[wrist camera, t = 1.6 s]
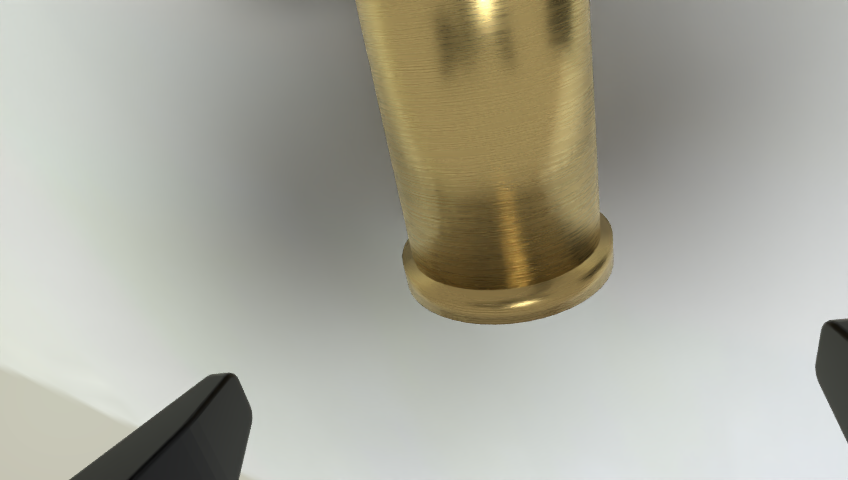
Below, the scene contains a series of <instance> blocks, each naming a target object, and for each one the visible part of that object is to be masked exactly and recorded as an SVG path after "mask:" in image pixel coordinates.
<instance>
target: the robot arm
mask: <svg viewBox="0 0 848 480" xmlns="http://www.w3.org/2000/svg"><path fill="white" fill-rule="evenodd" d="M815 369H816V376H817V379H818V382H819V384H820V386H821V388H822V390H823V393H824V395H825V397H826V399H827V401H828V403H829V405H830V407H831V409H832V411H833V413H834V415H835V418H836V420H837V422H838V424H839V426H840V428H841V430H842V432H843V434H844V436H845V438H846V441H847V443H848V319H836V320H829V321H827V322H825V323H824V325H823V326H822V329H821V334H820V340H819V346H818V352H817V358H816V365H815ZM251 425H252V410H251V407H250V404H249V402H248V400H247V397H246V395H245V393H244V390H243V388H242V386H241V384H240V381H239V379H238V377H237V376H236V375H235V374H233V373H220V374H212V375H209V376H207V377H206V378H204V379H203V380H202V381H200V382H199V383H198V384H196V385H195V386H194V387H192V388H191V389H190V390H188V391H187V392H186V393H184V394H183V395H182V396H180V397H179V398H178V399H176V400H175V401H174V402H172V403H171V404H170V405H168V406H167V407H166V408H164V409H163V410H162V411H160V412H159V413H158V414H156V415H155V416H154V417H152V418H151V419H150V420H148V421H147V422H146V423H144V424H143V425H142V426H140V427H139V428H138V429H136V430H135V431H134V432H132V433H131V434H130V435H128V436H127V437H126V438H124V439H123V440H122V441H120V442H119V443H118V444H116V445H115V446H114V447H113V448H111V449H110V450H108V451H107V452H106V453H104V454H103V455H102V456H100V457H99V458H98V459H96V460H95V461H94V462H92V463H91V464H90V465H88V466H87V467H86V468H84V469H83V470H82V471H80V472H79V473H78V474H76V475H75V476H74V477H72V478H71V479H70V480H239V476H240V472H241V468H242V463H243V459H244V455H245V450H246V446H247V442H248V438H249V433H250V429H251Z"/></svg>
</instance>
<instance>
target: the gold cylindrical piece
mask: <svg viewBox="0 0 848 480" xmlns="http://www.w3.org/2000/svg"><path fill="white" fill-rule="evenodd" d="M355 2H356V6H357V11H358V15H359V20H360V24H361V29H362V33H363V38H364V42H365V46H366V51H367V55H368V60H369V64H370V69H371V73H372V78H373V82H374V86H375V91H376V95H377V100H378V104H379V109H380V113H381V118H382V122H383V126H384V131H385V135H386V140H387V144H388V149H389V153H390V158H391V162H392V167H393V171H394V175H395V180H396V184H397V189H398V193H399V198H400V202H401V207H402V211H403V215H404V220H405V224H406V229H407V233H408V238H409V239H408V240H407V242H406V243H405V246H404V249H403V254H402V259H403V265H404V269H405V273H406V278H407V282H408V286H409V289H410V291H411V294H412V295H413V296H414V298H415V299H416V300H417V301H418V302H419V303H420V304H421V305H422V306H423V307H425V308H426V309H428V310H430V311H431V312H433V313H436V314H438V315H440V316H443V317H446V318H449V319H452V320H456V321H461V322H466V323H475V324H495V325H496V324H513V323H520V322H527V321H532V320H537V319H541V318H545V317H548V316H551V315H555V314H558V313H560V312H563V311H565V310H568V309H570V308H572V307H574V306H576V305H578V304H580V303H582V302H583V301H585V300H586V299H588V298H589V297H591V296H592V295H593V294H595V293H596V292H597V291H598V290H599V289H600V288H601V287H602V286H603V285H604V283H605V282H606V281H607V280H608V278H609V276H610V274H611V272H612V268H613V232H612V228H611V225H610V223H609V222H608V220H607V218H606V217H605V216H604V215H603V214H602V213H600V208H599V187H598V167H597V147H596V126H595V106H594V86H593V65H592V45H591V24H590V4H589V0H355Z"/></svg>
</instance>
